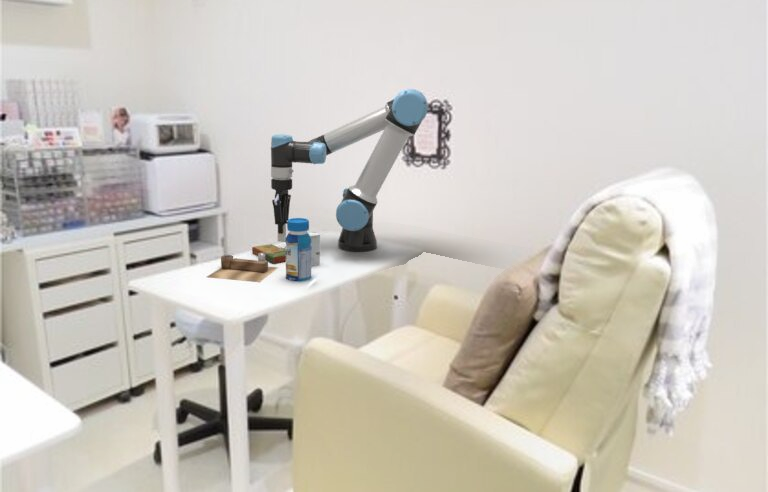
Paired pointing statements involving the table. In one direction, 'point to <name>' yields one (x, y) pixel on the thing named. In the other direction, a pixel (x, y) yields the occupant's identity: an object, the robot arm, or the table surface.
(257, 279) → the frame board
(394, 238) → the table surface
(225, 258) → the leg bar
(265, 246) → the carton
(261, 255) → the stop peg
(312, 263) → the skincare box
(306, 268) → the beverage bottle
